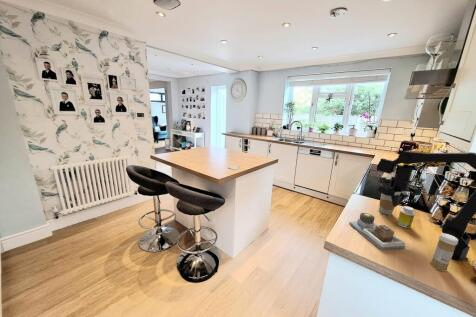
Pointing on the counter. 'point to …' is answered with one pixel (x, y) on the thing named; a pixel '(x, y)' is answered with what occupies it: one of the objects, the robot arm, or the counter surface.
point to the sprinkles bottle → (444, 251)
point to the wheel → (367, 217)
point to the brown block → (383, 233)
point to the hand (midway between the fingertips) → (394, 206)
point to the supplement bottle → (406, 217)
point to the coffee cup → (386, 204)
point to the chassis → (368, 232)
